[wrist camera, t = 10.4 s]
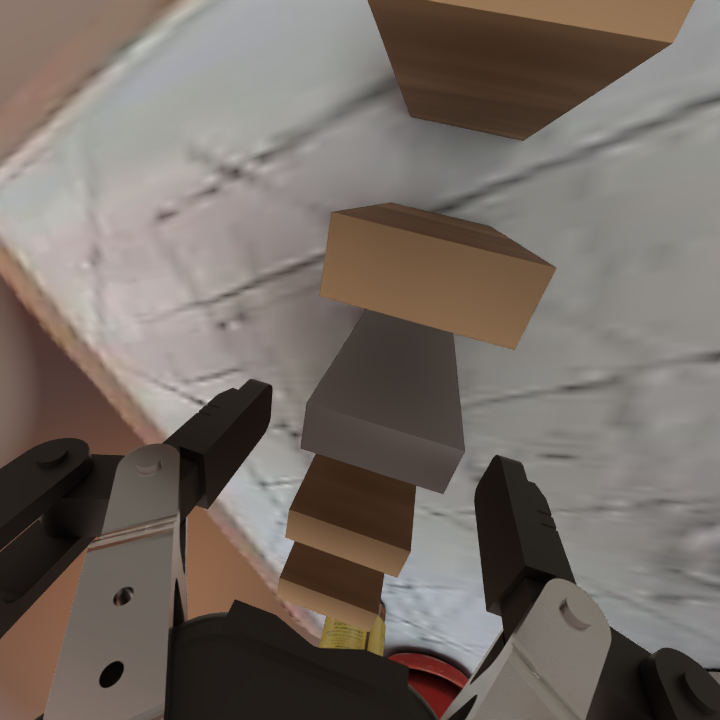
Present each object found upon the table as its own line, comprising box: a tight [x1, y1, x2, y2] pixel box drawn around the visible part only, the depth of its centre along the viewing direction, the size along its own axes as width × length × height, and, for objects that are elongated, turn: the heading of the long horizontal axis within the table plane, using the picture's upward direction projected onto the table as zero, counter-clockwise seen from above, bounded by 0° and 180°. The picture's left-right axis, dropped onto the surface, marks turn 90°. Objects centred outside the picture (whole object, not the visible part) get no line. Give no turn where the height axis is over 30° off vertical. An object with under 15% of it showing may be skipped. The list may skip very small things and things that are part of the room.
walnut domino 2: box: [277, 541, 384, 632], centre depth 20 cm, size 2×5×10 cm, turn 78°
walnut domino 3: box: [368, 0, 695, 141], centre depth 9 cm, size 2×5×10 cm, turn 79°
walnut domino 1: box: [285, 453, 416, 578], centre depth 17 cm, size 2×5×10 cm, turn 79°
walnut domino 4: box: [320, 203, 556, 350], centre depth 12 cm, size 2×5×10 cm, turn 78°
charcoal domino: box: [301, 309, 465, 494], centre depth 14 cm, size 2×5×10 cm, turn 79°
